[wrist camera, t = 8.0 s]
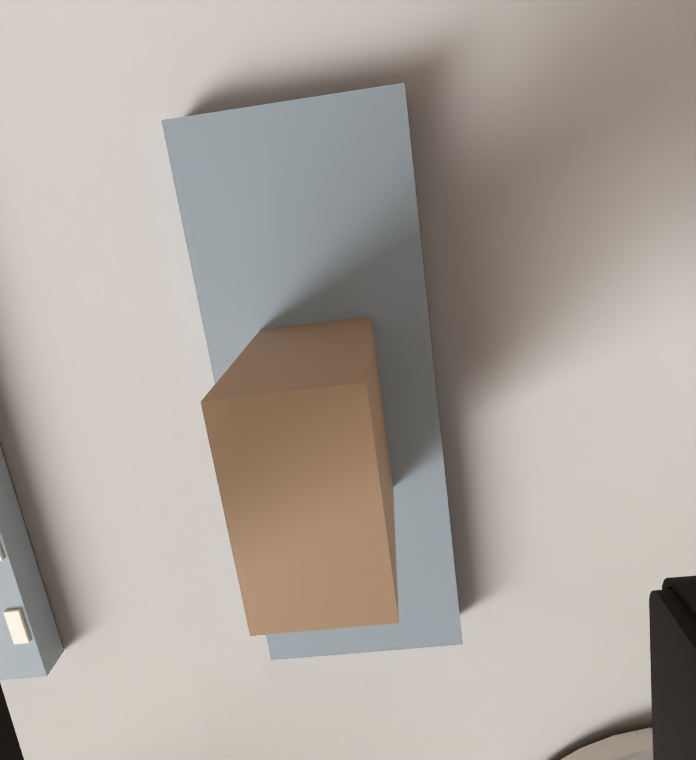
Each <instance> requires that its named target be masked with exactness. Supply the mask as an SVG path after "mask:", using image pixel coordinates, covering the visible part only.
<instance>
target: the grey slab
mask: <svg viewBox="0 0 696 760" xmlns="http://www.w3.org/2000/svg"><path fill="white" fill-rule="evenodd" d="M162 125H163V130H164V135H165V140H166V145H167V149H168V154H169V159H170V164H171V169H172V174H173V179H174V184H175V189H176V194H177V199H178V204H179V209H180V213H181V218H182V223H183V228H184V233H185V238H186V243H187V248H188V253H189V258H190V263H191V268H192V272H193V277H194V282H195V287H196V292H197V297H198V302H199V307H200V312H201V317H202V322H203V327H204V332H205V336H206V341H207V346H208V351H209V356H210V361H211V366H212V371H213V376H214V381H215V385H214V386H213V388H212V389H211V390H210V391H209V392H208V394H207V395H206V396H205V397H204V398H203V400H202V401H201V405H202V410H203V415H204V420H205V424H206V429H207V434H208V439H209V443H210V448H211V453H212V457H213V462H214V467H215V472H216V476H217V481H218V486H219V491H220V495H221V500H222V505H223V509H224V514H225V519H226V524H227V528H228V533H229V538H230V543H231V547H232V552H233V557H234V561H235V566H236V571H237V576H238V580H239V585H240V590H241V595H242V599H243V604H244V609H245V613H246V618H247V623H248V628H249V632H250V636H254V635H266V637H267V641H268V646H269V651H270V656H271V660H277V659H289V658H301V657H313V656H326V655H338V654H350V653H362V652H375V651H387V650H399V649H411V648H424V647H436V646H448V645H460V644H463V643H462V633H461V623H460V614H459V604H458V594H457V585H456V575H455V565H454V556H453V546H452V536H451V527H450V517H449V507H448V497H447V488H446V478H445V468H444V459H443V449H442V439H441V430H440V420H439V410H438V401H437V391H436V381H435V372H434V362H433V352H432V342H431V333H430V323H429V313H428V304H427V294H426V284H425V275H424V265H423V255H422V246H421V236H420V226H419V217H418V207H417V197H416V187H415V178H414V168H413V158H412V149H411V139H410V129H409V120H408V110H407V100H406V91H405V82H404V83H398V84H391V85H385V86H378V87H372V88H366V89H359V90H353V91H346V92H340V93H333V94H327V95H321V96H314V97H308V98H301V99H295V100H288V101H282V102H276V103H269V104H263V105H256V106H250V107H243V108H237V109H231V110H224V111H218V112H211V113H205V114H198V115H192V116H186V117H179V118H173V119H166V120H162Z"/></svg>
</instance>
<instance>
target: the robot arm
mask: <svg viewBox="0 0 696 760" xmlns="http://www.w3.org/2000/svg"><path fill="white" fill-rule="evenodd" d="M649 610H650V652H651V693H652V728H645V729H640V730H636V731H631V732H627V733H622V734H618V735H613V736H610V737H608V738H605V739H603V740H600V741H597V742H595V743H592V744H589V745H587V746H584V747H582V748H579V749H578V750H576V751H574V752H573V753H571V754H569V755H567V756H566V757H564V758H562V759H560V760H696V576H687V577H674V578H666V579H665V580H664V582H663V585H662V590H656V591H652V592H651V593H650V598H649ZM0 760H24V758H23V755H22V752H21V749H20V746H19V742H18V739H17V736H16V733H15V729H14V726H13V723H12V720H11V717H10V713H9V710H8V707H7V704H6V700H5V697H4V694H3V691H2V687H1V684H0Z"/></svg>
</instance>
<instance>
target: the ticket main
mask: <svg viewBox="0 0 696 760" xmlns="http://www.w3.org/2000/svg"><path fill="white" fill-rule="evenodd" d="M63 651H64V650H63V646H62V643H61V640H60V637H59V633H58V630H57V627H56V624H55V621H54V617H53V614H52V611H51V608H50V604H49V601H48V598H47V595H46V591H45V588H44V585H43V582H42V579H41V575H40V572H39V569H38V566H37V562H36V559H35V556H34V553H33V549H32V546H31V543H30V540H29V536H28V533H27V530H26V527H25V524H24V520H23V517H22V514H21V511H20V507H19V504H18V501H17V498H16V494H15V491H14V488H13V485H12V482H11V478H10V475H9V472H8V469H7V465H6V462H5V459H4V456H3V452H2V449H1V446H0V680H6V679H18V678H30V677H43V676H47V675H48V674H49V672H50V671H51V669H52V668H53V666H54V665H55V663H56V662H57V660H58V659H59V657H60V656H61V654H62V653H63Z"/></svg>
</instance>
